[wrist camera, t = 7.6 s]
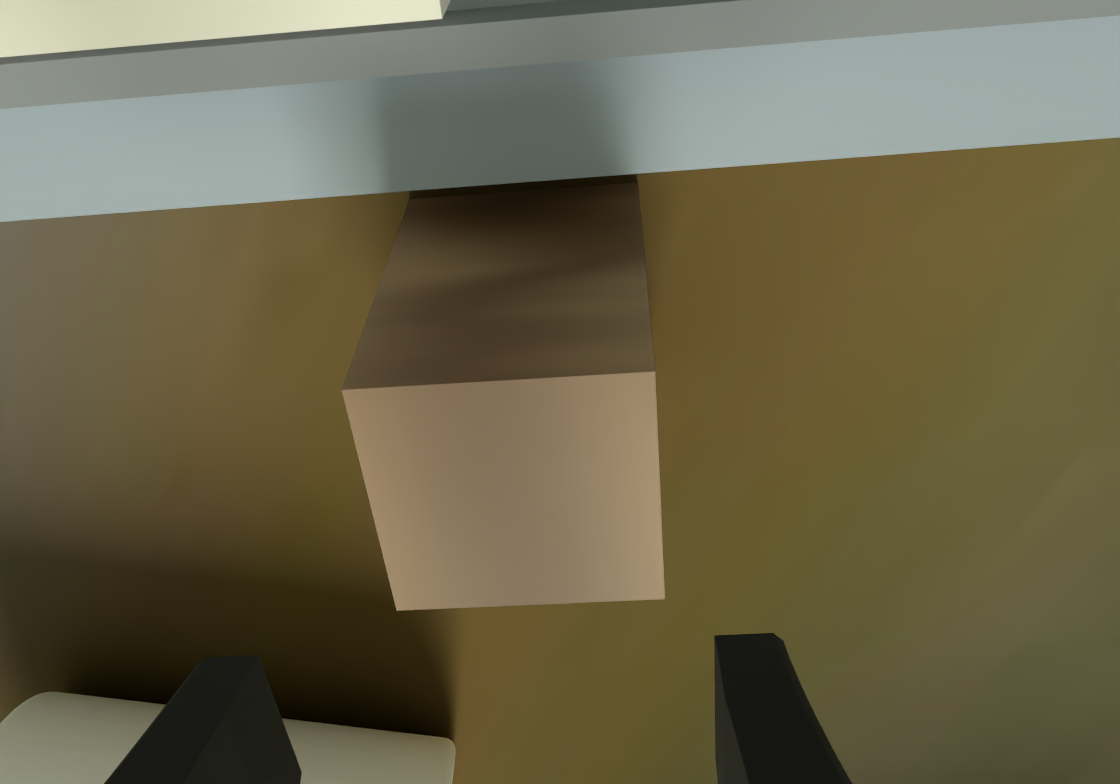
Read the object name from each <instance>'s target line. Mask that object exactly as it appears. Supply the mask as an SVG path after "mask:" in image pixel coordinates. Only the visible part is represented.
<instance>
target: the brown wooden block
mask: <svg viewBox="0 0 1120 784" xmlns="http://www.w3.org/2000/svg"><path fill="white" fill-rule="evenodd" d="M342 393H343V397H344V401H345V405H346V409H347V413H348V417H349V421H350V425H351V429H352V433H353V437H354V441H355V445H356V449H357V453H358V457H359V461H360V466H361V470H362V474H363V478H364V482H365V486H366V490H367V494H368V498H369V502H370V506H371V510H372V514H373V518H374V522H375V526H376V530H377V534H378V538H379V542H380V546H381V550H382V554H383V558H384V562H385V566H386V570H387V574H388V578H389V582H390V586H391V590H392V594H393V598H394V602H395V606H396V610H397V611H400V610H423V609H446V608H469V607H492V606H515V605H538V604H561V603H584V602H607V601H630V600H654V599H665V592H664V568H663V545H662V521H661V498H660V474H659V451H658V427H657V404H656V380H655V365H654V354H653V343H652V332H651V321H650V311H649V300H648V289H647V278H646V267H645V256H644V246H643V235H642V224H641V213H640V202H639V191H638V182H636V183H622V184H608V185H595V186H581V187H567V188H553V189H539V190H525V191H511V192H497V193H483V194H469V195H455V196H442V197H428V198H414V199H410V200H409V203H408V206H407V208H406V211H405V214H404V217H403V220H402V222H401V225H400V228H399V231H398V234H397V236H396V239H395V242H394V245H393V248H392V250H391V253H390V256H389V259H388V262H387V264H386V267H385V270H384V273H383V276H382V278H381V281H380V284H379V287H378V290H377V292H376V295H375V298H374V301H373V304H372V306H371V309H370V312H369V315H368V318H367V320H366V323H365V326H364V329H363V332H362V334H361V337H360V340H359V343H358V346H357V348H356V351H355V354H354V357H353V360H352V362H351V365H350V368H349V371H348V374H347V377H346V379H345V382H344V385H343V388H342Z"/></svg>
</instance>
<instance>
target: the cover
mask: <svg viewBox="0 0 1120 784" xmlns="http://www.w3.org/2000/svg"><path fill="white" fill-rule="evenodd" d="M450 1H451V0H0V58H1V57H12V56H24V55H35V54H46V53H58V52H69V51H81V50H92V49H104V48H115V47H127V46H138V45H149V44H161V43H172V42H184V41H195V40H207V39H218V38H230V37H241V36H252V35H264V34H275V33H287V32H298V31H310V30H321V29H333V28H344V27H355V26H367V25H378V24H390V23H401V22H413V21H424V20H436V19H442V18H443V16H444V14H445V12H446V10H447V7H448V5H449V3H450Z"/></svg>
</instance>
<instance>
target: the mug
mask: <svg viewBox="0 0 1120 784" xmlns="http://www.w3.org/2000/svg"><path fill="white" fill-rule="evenodd" d="M164 707H165V705H164V704H156V703H147V702H139V701H130V700H122V699H114V698H105V697H97V696H88V695H80V694H71V693H63V692H44V693H41V694H38V695H35V696H33V697H31V698H29V699H28V700H26V701H24V702H23V703H22V704H20V705H19V706H18V707H16V708H15V709H14V710H13V711H12V712H11V713H10V714H9V715H8V716H7V717H6V718H5V719H4V720H3V721H2V722H1V723H0V784H104V783H105V781H106V780H107V779H108V778H109V777H110V775H111V774H112V773H113V772H114V770H115V769H116V768H117V767H118V765H119V764H120V763H121V761H122V760H123V759H124V758H125V756H126V755H127V754H128V753H129V751H130V750H131V749H132V748H133V746H134V745H135V744H136V743H137V741H138V740H139V739H140V737H141V736H142V735H143V734H144V732H145V731H146V730H147V728H148V727H149V726H150V725H151V723H152V722H153V721H154V720H155V718H156V717H157V716H158V714H159V713H160V712H161V711H162V709H163V708H164ZM282 720H283V723H284V726H285V728H286V731H287V734H288V736H289V739H290V742H291V744H292V747H293V750H294V752H295V755H296V758H297V760H298V763H299V766H300V769H301V771H302V775H301V781H300V784H452V780H453V771H454V763H455V752H456V749H455V745H454V743H453V742H452V741H451V740H450V739H448V738H444V737H435V736H427V735H418V734H410V733H402V732H393V731H385V730H376V729H368V728H359V727H351V726H342V725H334V724H325V723H317V722H308V721H300V720H291V719H283V718H282Z"/></svg>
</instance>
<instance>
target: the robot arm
mask: <svg viewBox="0 0 1120 784" xmlns="http://www.w3.org/2000/svg"><path fill="white" fill-rule="evenodd" d="M714 640H715V745H716V767H717V777H718V784H852V783H851V781H850V779H849V778H848V776H847V774H846V772H845V770H844V769H843V767H842V765H841V763H840V761H839V760H838V758H837V756H836V754H835V752H834V750H833V749H832V747H831V745H830V743H829V741H828V739H827V737H826V735H825V733H824V731H823V729H822V727H821V725H820V723H819V721H818V720H817V718H816V716H815V714H814V712H813V709H812V707H811V705H810V703H809V701H808V699H807V697H806V695H805V693H804V691H803V688H802V686H801V684H800V682H799V679H798V677H797V675H796V672H795V670H794V668H793V665H792V663H791V660H790V658H789V655H788V653H787V650H786V647H785V644H784V641H783V640H782V639H780V638H779V637H778V636H776V635H775V634H774V633H763V634H740V635H717V636H714ZM301 775H302V771H301V769H300V766H299V763H298V760H297V758H296V755H295V752H294V750H293V747H292V744H291V742H290V739H289V736H288V734H287V731H286V728H285V726H284V723H283V720H282V717H281V715H280V712H279V709H278V707H277V704H276V701H275V699H274V696H273V693H272V691H271V688H270V685H269V683H268V680H267V677H266V675H265V672H264V669H263V666H262V664H261V661H260V658H259V656H258V655H252V656H229V657H206V658H203V659H202V661H201V662H200V663H199V664H198V665H197V666H196V667H195V668H194V670H193V671H192V672H191V674H190V675H189V676H188V677H187V679H186V680H185V681H184V682H183V684H182V685H181V686H180V687H179V689H178V690H177V691H176V693H175V694H174V695H173V696H172V698H171V699H170V700H169V702H168V703H167V704H166V705H165V707H164V708H163V709H162V711H161V712H160V713H159V714H158V716H157V717H156V718H155V720H154V721H153V722H152V723H151V725H150V726H149V727H148V728H147V730H146V731H145V732H144V734H143V735H142V736H141V737H140V739H139V740H138V741H137V743H136V744H135V745H134V746H133V748H132V749H131V750H130V751H129V753H128V754H127V755H126V756H125V758H124V759H123V760H122V761H121V763H120V764H119V765H118V767H117V768H116V769H115V770H114V772H113V773H112V774H111V775H110V777H109V778H108V779H107V780H106V781H105V783H104V784H300V781H301Z"/></svg>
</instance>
